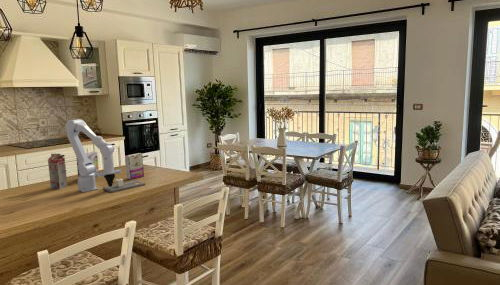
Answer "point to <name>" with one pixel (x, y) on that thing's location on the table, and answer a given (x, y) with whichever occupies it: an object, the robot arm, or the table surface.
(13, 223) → the table surface
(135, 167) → the candy bar box
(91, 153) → the cake pan box
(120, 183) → the fader knob
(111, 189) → the fader panel
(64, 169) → the juice carton
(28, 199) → the table surface
